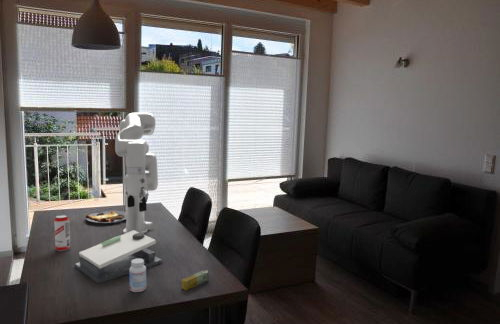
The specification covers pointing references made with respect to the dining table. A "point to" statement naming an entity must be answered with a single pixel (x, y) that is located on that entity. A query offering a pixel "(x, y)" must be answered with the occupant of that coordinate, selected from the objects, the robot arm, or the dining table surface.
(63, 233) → the beer can
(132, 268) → the pill bottle
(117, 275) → the level stand
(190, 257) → the dining table surface
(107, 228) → the dining table surface
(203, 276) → the medication box
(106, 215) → the food plate
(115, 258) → the board
